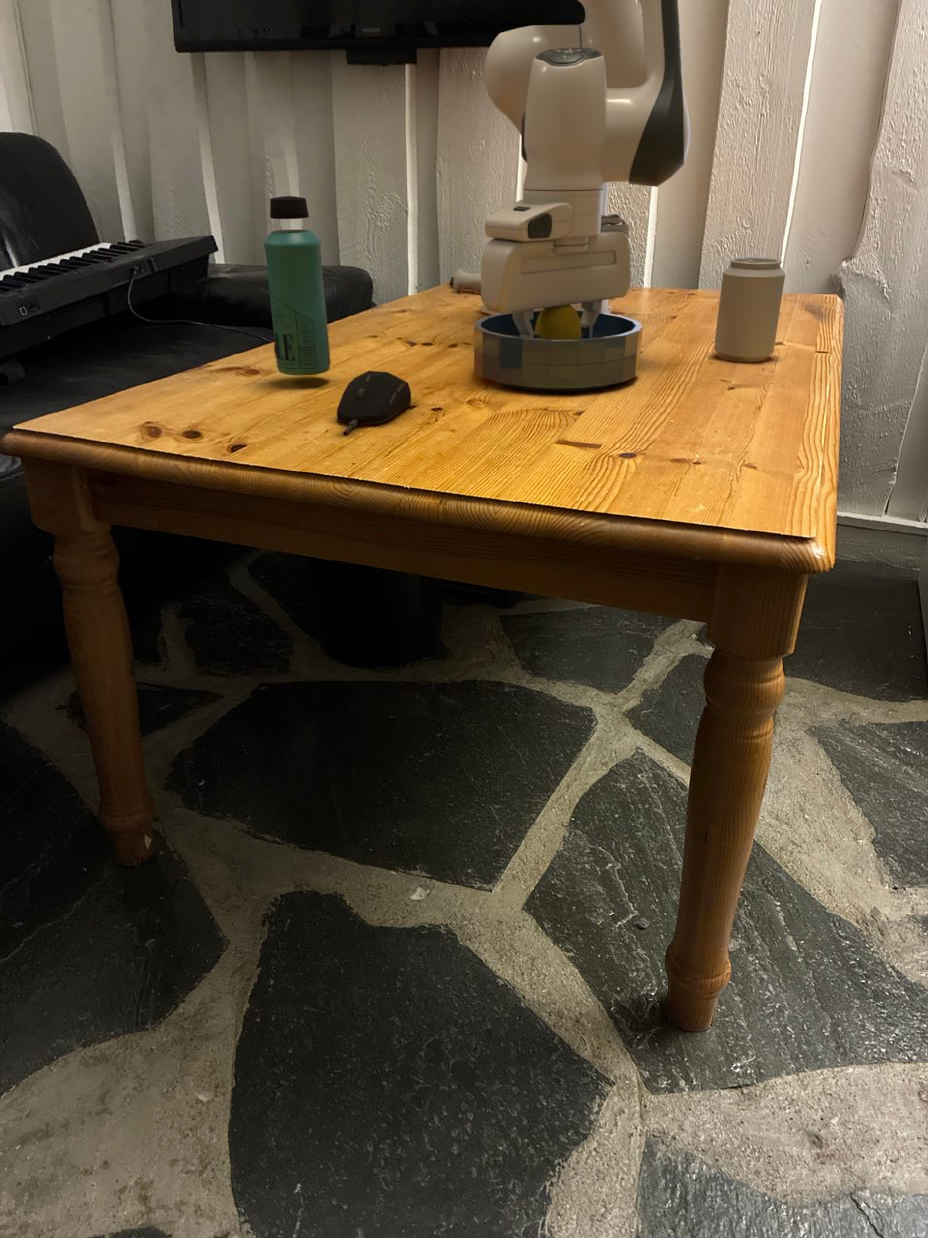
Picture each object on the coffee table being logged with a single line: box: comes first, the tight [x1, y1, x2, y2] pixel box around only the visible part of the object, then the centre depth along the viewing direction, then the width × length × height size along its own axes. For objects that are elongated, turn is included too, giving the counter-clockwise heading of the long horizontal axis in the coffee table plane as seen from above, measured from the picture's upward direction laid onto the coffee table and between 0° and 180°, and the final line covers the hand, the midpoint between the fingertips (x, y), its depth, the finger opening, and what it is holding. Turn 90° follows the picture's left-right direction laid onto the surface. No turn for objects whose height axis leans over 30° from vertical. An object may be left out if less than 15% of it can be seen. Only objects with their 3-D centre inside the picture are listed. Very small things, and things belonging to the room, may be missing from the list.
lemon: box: [535, 305, 581, 339], centre depth 107 cm, size 6×6×8 cm
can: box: [713, 256, 786, 363], centre depth 115 cm, size 8×8×12 cm
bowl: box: [473, 310, 644, 393], centre depth 108 cm, size 20×20×6 cm
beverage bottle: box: [263, 195, 333, 376], centre depth 102 cm, size 6×7×20 cm
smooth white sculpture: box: [452, 267, 481, 295], centre depth 167 cm, size 4×8×5 cm
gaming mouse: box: [336, 370, 412, 436], centre depth 93 cm, size 6×15×4 cm, turn 166°
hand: (556, 344), depth 108 cm, fingers open, 7 cm apart
